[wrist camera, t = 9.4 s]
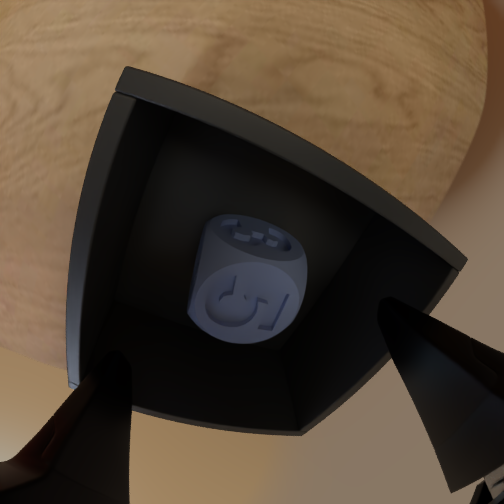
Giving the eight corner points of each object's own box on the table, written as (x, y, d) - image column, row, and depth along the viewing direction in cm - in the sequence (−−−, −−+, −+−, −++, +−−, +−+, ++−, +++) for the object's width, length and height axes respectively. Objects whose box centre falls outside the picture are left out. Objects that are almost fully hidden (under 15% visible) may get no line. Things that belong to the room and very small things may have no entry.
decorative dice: (265, 294, 15) (279, 350, 11) (190, 279, 14) (183, 336, 10) (292, 227, 13) (319, 272, 9) (208, 205, 12) (204, 247, 8)
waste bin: (174, 90, 10) (125, 65, 4) (384, 199, 13) (468, 259, 8) (106, 297, 14) (68, 387, 9) (280, 351, 18) (302, 436, 12)
